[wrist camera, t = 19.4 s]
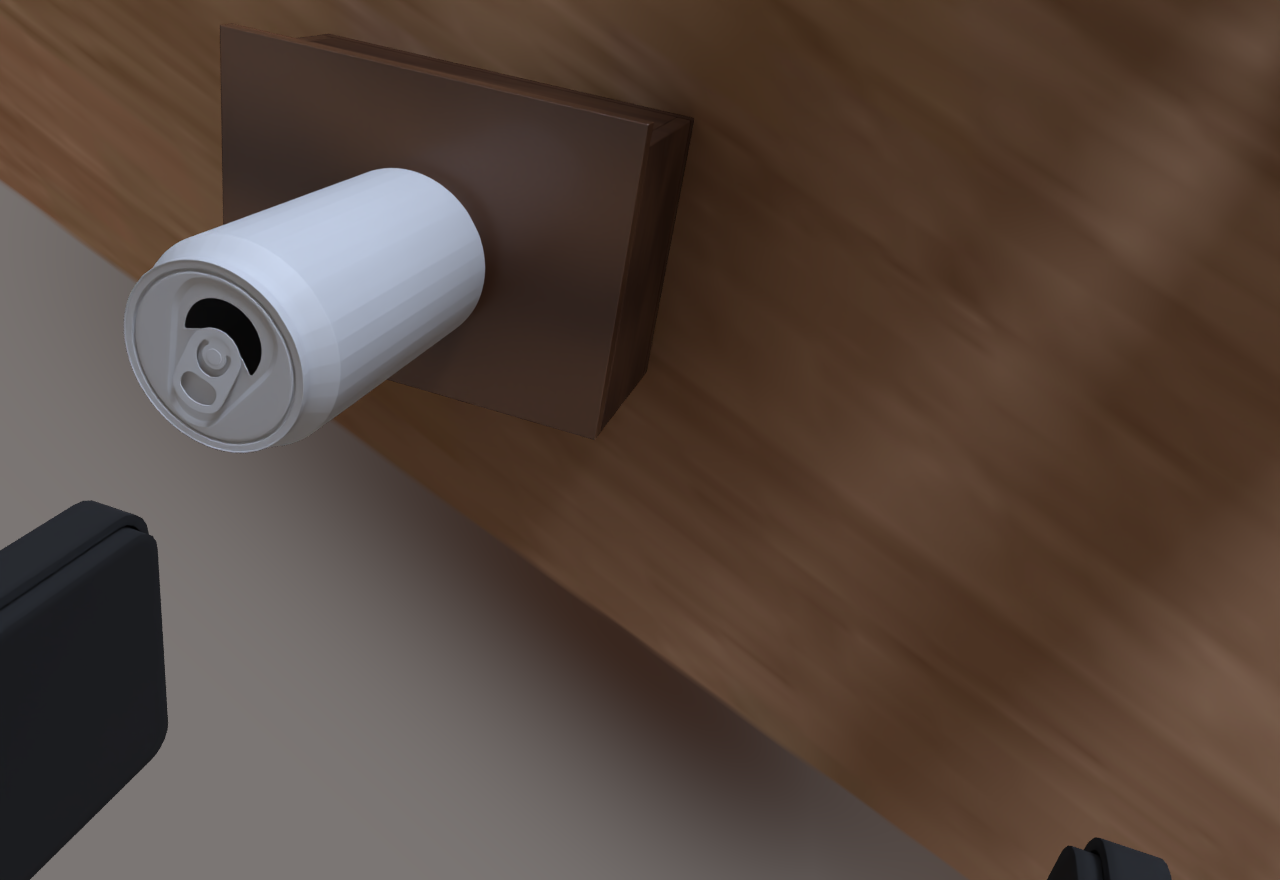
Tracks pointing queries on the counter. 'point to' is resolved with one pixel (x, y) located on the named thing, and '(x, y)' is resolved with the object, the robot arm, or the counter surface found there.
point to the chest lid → (486, 187)
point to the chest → (652, 216)
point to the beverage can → (301, 308)
